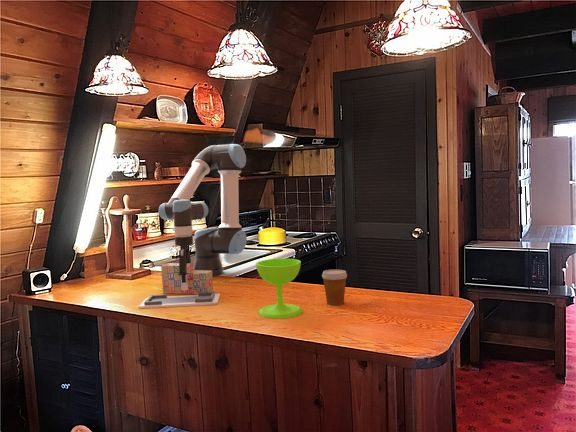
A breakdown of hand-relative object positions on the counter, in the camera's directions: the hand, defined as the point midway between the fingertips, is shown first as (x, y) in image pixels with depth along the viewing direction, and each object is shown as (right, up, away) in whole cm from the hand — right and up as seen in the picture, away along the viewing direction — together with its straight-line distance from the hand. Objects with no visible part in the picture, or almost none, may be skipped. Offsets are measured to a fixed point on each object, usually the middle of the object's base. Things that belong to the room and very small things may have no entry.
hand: (186, 287), depth 214 cm
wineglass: (+41, -4, -36) cm, 55 cm away
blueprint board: (+1, -4, -16) cm, 16 cm away
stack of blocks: (+1, -3, 0) cm, 3 cm away
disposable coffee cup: (+62, -2, -27) cm, 67 cm away
